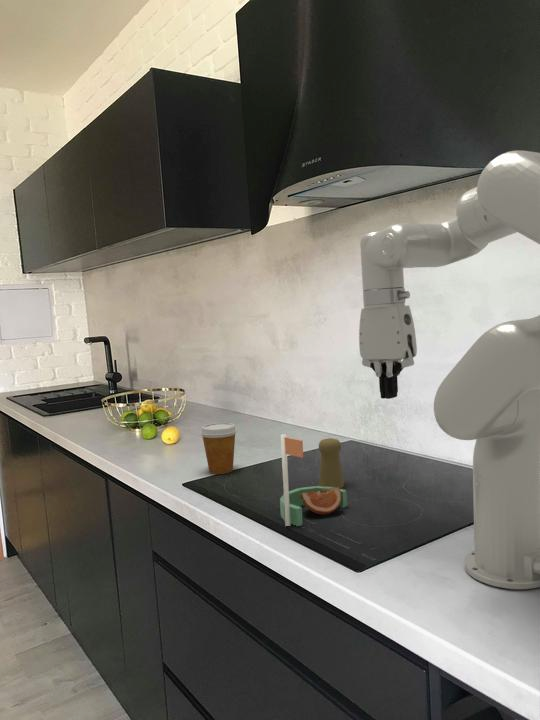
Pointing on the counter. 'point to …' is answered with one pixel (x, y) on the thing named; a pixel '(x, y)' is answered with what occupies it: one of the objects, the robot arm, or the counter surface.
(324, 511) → the fruit slice
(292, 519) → the green segmented arc
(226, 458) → the disposable coffee cup
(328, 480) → the cork
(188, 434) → the counter surface
